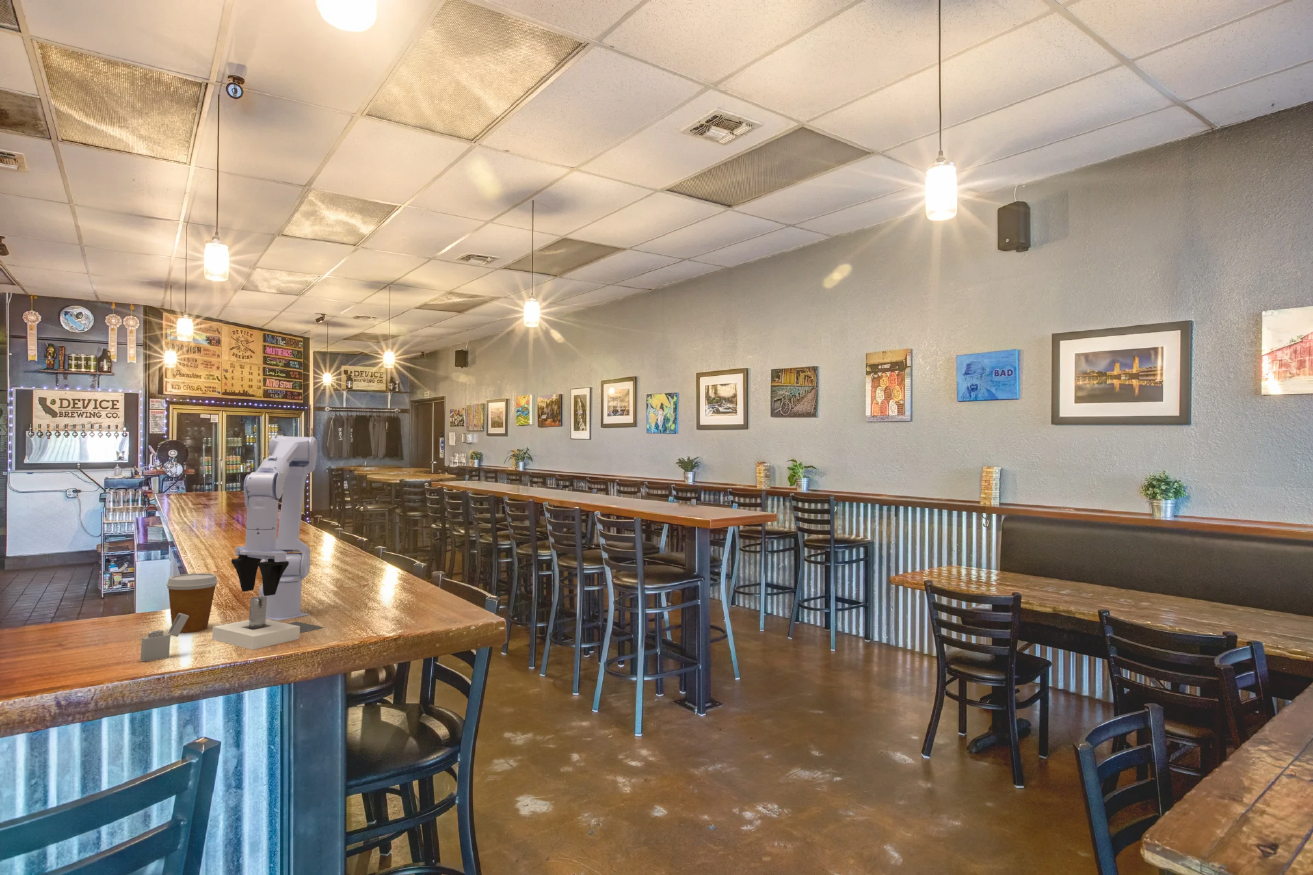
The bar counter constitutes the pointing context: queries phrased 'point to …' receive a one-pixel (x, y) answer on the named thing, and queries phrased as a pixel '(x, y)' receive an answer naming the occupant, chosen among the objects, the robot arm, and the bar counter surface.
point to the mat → (305, 626)
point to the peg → (257, 613)
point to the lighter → (161, 640)
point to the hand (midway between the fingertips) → (258, 593)
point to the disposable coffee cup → (192, 599)
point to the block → (255, 634)
